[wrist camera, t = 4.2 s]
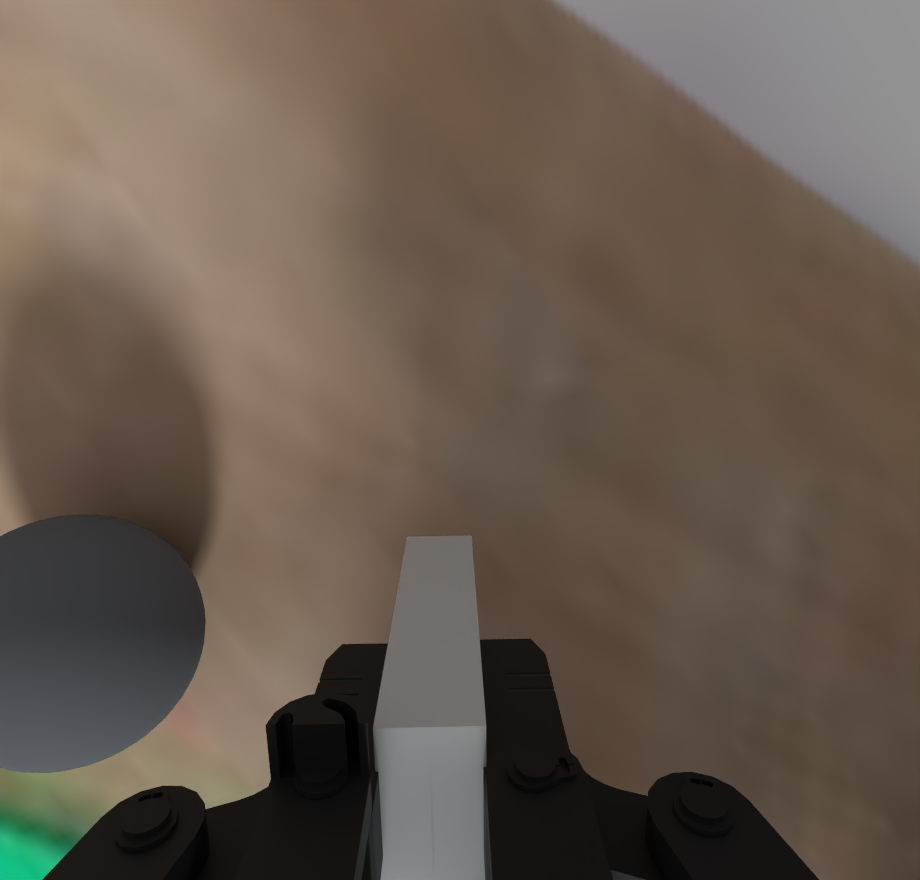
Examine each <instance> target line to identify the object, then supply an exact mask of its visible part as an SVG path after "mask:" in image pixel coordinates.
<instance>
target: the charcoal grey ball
mask: <svg viewBox="0 0 920 880" xmlns="http://www.w3.org/2000/svg"><path fill="white" fill-rule="evenodd" d="M204 635H205V609H204V605H203V600H202V596H201V592H200V589H199V586H198V583H197V581H196V579H195V577H194V575H193V573H192V571H191V569H190V568H189V566H188V565H187V563H186V562H185V561H184V559H183V558H182V557H181V556H180V555H179V554H178V552H177V551H176V550H175V549H174V548H173V547H171V546H170V545H169V544H168V543H167V542H166V541H165V540H163V539H162V538H160V537H159V536H157V535H156V534H154V533H153V532H151V531H149V530H147V529H145V528H143V527H141V526H139V525H136V524H134V523H131V522H128V521H124V520H120V519H117V518H112V517H106V516H99V515H68V516H58V517H54V518H49V519H45V520H41V521H37V522H33V523H30V524H27V525H25V526H22V527H19V528H17V529H15V530H12V531H10V532H8V533H6V534H4V535H2V536H0V768H2V769H6V770H11V771H18V772H30V773H50V772H61V771H66V770H70V769H75V768H80V767H84V766H88V765H90V764H93V763H96V762H99V761H101V760H104V759H106V758H109V757H111V756H113V755H115V754H117V753H119V752H121V751H123V750H125V749H126V748H128V747H129V746H131V745H132V744H134V743H136V742H137V741H138V740H140V739H141V738H143V737H144V736H146V735H147V734H148V733H149V732H150V731H151V730H152V729H154V728H155V727H156V726H157V725H158V724H159V723H160V722H161V721H162V720H163V719H164V718H165V717H166V716H167V715H168V714H169V712H170V711H171V710H172V709H173V707H174V706H175V705H176V704H177V703H178V701H179V700H180V699H181V698H182V696H183V694H184V692H185V691H186V689H187V687H188V685H189V684H190V682H191V680H192V678H193V676H194V674H195V671H196V669H197V666H198V663H199V660H200V657H201V653H202V649H203V644H204Z"/></svg>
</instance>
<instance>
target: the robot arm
mask: <svg viewBox="0 0 920 880" xmlns="http://www.w3.org/2000/svg"><path fill="white" fill-rule="evenodd" d="M266 733H267V743H268V753H269V763H270V773H271V781H270V783H269V786H268V787H267V788H265V789H263V790H262V791H260V792H258V793H256V794H254V795H252V796H249V797H246V798H244V799H241V800H238V801H234V802H231V803H227V804H223V805H220V806H216V807H212V808H209V809H205V803H204V802H203V800H202V799H201V798H200V796H199V795H198V793H197V792H195V791H193V790H190V789H188V788H185V787H183V786H160V787H156V788H152V789H149V790H145V791H141V792H139V793H137V794H135V795H133V796H131V797H129V798H127V799H125V800H123V801H121V802H120V803H118V804H117V805H116V806H115V807H113V808H112V809H111V810H110V811H109V812H107V813H106V814H105V815H104V816H103V817H101V818H100V820H99V821H98V822H97V823H96V824H95V825H94V826H93V827H92V828H91V829H90V830H89V831H88V832H87V833H86V834H85V835H84V836H83V837H82V838H81V840H80V841H79V842H78V843H77V844H76V845H75V846H74V847H73V848H72V849H71V850H70V851H69V852H68V853H67V854H66V855H65V856H64V857H63V859H62V860H61V861H60V862H59V863H58V864H57V865H56V866H55V867H54V868H53V869H52V870H51V871H50V872H49V873H48V874H47V875H46V876H45V877H44V879H43V880H380V878H381V880H819V879H818V878H817V877H816V876H815V875H814V873H813V872H812V871H811V870H810V869H809V868H808V867H807V866H806V864H805V863H804V862H803V861H802V860H801V859H800V858H799V857H798V855H797V854H796V853H795V852H794V851H793V850H792V849H791V847H790V846H789V845H788V844H787V843H786V842H785V841H784V840H783V838H782V837H781V836H780V835H779V834H778V833H777V832H776V831H775V829H774V828H773V827H772V826H771V825H770V824H769V823H768V821H767V820H766V819H765V818H764V817H763V816H762V815H761V814H760V812H759V811H758V810H757V809H756V808H755V807H754V806H753V805H752V803H751V802H750V801H749V800H748V799H747V798H745V797H744V796H743V795H742V794H741V793H740V792H738V791H737V790H736V789H735V788H734V787H732V786H730V785H728V784H726V783H724V782H722V781H720V780H718V779H716V778H714V777H712V776H707V775H703V774H698V773H694V772H682V773H671V774H669V775H667V776H665V777H662V778H660V779H658V780H657V781H656V782H655V783H654V785H653V786H652V787H651V788H650V790H649V791H648V796H645V795H641V794H636V793H632V792H628V791H624V790H620V789H617V788H614V787H611V786H608V785H605V784H603V783H601V782H600V781H598V780H596V779H594V778H592V777H591V776H590V775H588V774H587V773H586V772H585V771H584V770H583V768H582V766H581V764H580V762H579V761H578V759H577V758H576V757H575V756H574V755H573V754H572V753H571V752H570V750H569V746H568V742H567V738H566V734H565V730H564V726H563V722H562V718H561V714H560V710H559V706H558V702H557V699H556V695H555V691H554V687H553V683H552V679H551V676H550V671H549V667H548V663H547V659H546V655H545V653H544V652H543V651H542V650H541V649H540V648H539V647H538V646H537V645H536V644H535V643H534V642H533V641H532V640H531V639H493V640H480V638H479V625H478V612H477V599H476V586H475V573H474V560H473V547H472V535H469V536H413V537H407V539H406V545H405V550H404V556H403V562H402V567H401V573H400V579H399V584H398V590H397V595H396V601H395V607H394V612H393V618H392V624H391V629H390V635H389V641H388V643H387V644H342V645H341V646H340V647H339V648H338V649H337V650H336V651H335V652H334V653H333V654H332V655H331V656H330V657H329V658H328V659H327V660H326V662H325V665H324V668H323V671H322V674H321V677H320V683H318V686H317V689H316V692H315V694H313V695H307V696H304V697H302V698H299V699H296V700H294V701H291V702H289V703H288V704H286V705H285V706H283V707H282V708H281V709H279V710H278V711H276V712H275V713H274V714H273V716H272V717H271V719H270V720H269V721H268V723H267V724H266Z"/></svg>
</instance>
